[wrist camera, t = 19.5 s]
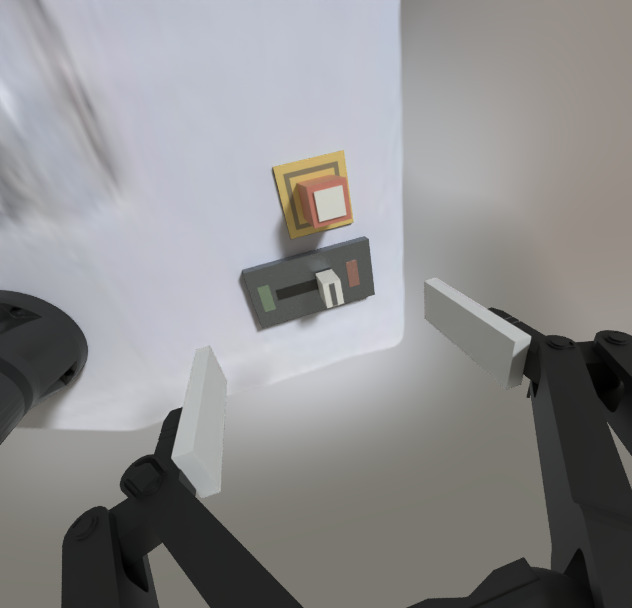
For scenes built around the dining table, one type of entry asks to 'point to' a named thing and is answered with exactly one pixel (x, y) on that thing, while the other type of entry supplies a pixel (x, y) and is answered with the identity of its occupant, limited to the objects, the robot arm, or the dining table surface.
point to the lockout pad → (304, 171)
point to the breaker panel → (308, 280)
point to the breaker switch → (330, 288)
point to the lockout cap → (325, 200)
